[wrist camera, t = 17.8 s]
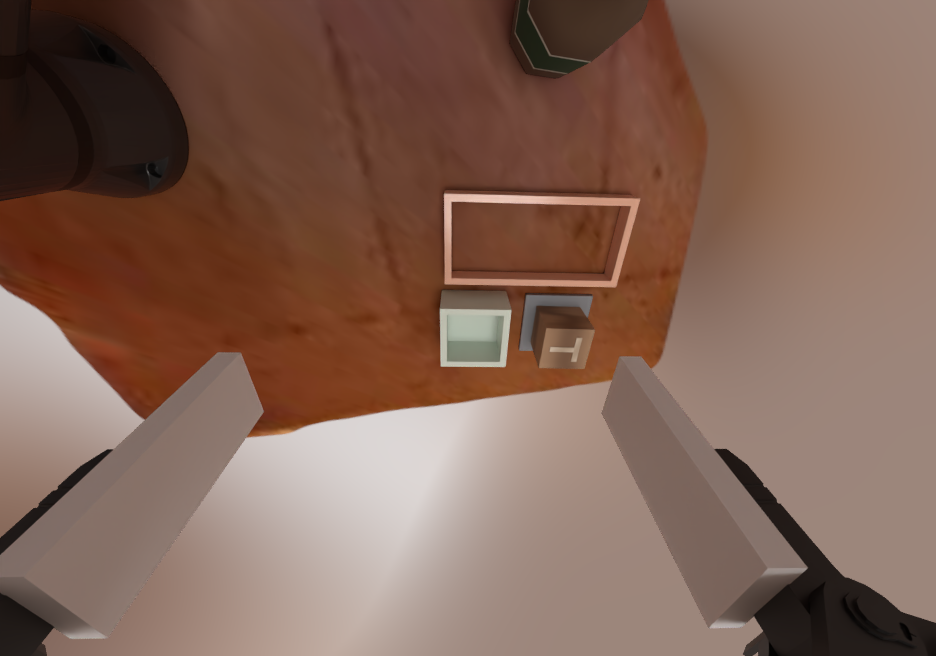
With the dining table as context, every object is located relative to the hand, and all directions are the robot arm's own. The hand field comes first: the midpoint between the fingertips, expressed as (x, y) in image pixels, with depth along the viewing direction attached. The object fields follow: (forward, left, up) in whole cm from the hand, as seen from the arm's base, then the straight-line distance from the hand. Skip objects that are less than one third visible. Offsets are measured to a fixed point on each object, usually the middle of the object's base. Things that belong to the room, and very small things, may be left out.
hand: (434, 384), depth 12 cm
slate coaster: (+15, -16, -32) cm, 38 cm away
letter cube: (+15, -16, -31) cm, 38 cm away
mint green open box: (+3, -15, -32) cm, 35 cm away
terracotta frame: (+10, -4, -32) cm, 33 cm away
